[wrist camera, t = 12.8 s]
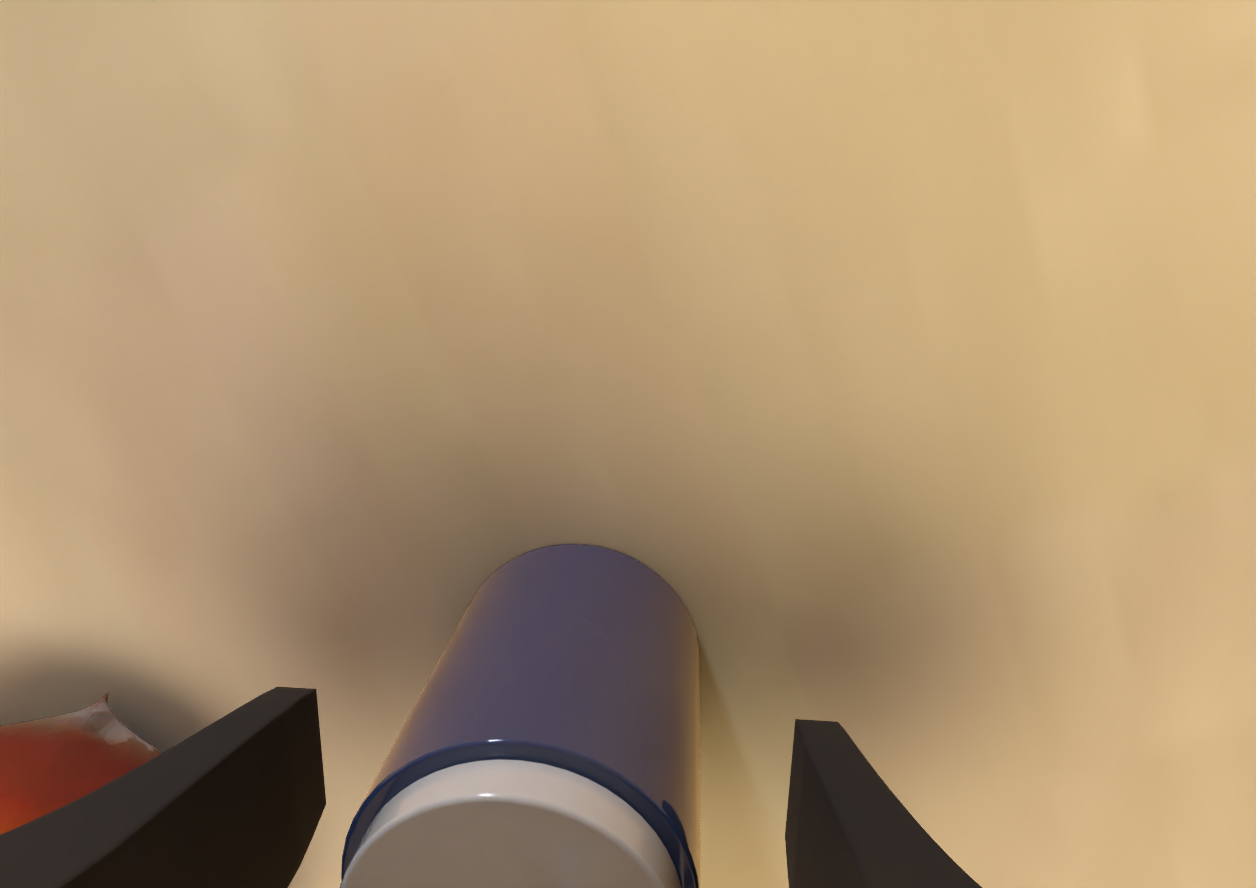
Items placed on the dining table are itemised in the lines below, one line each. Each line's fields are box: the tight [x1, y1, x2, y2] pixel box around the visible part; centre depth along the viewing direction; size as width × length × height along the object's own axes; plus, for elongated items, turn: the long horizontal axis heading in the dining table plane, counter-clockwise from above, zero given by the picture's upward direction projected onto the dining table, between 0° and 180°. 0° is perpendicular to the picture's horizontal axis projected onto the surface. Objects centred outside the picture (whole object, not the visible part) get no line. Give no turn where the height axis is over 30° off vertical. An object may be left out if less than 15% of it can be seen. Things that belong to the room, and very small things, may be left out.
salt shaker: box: [340, 544, 700, 888], centre depth 13 cm, size 4×4×6 cm
